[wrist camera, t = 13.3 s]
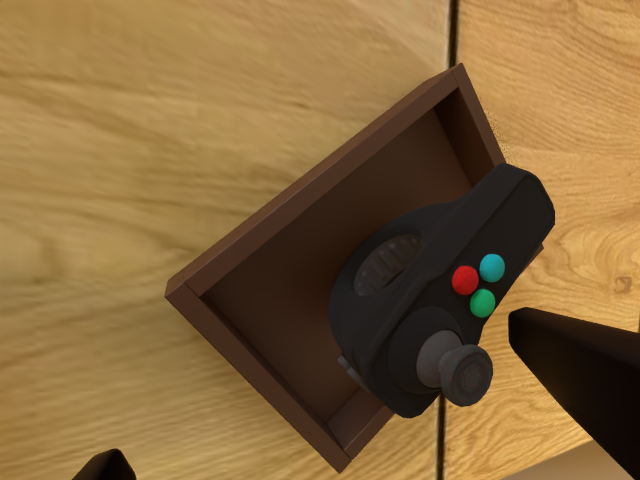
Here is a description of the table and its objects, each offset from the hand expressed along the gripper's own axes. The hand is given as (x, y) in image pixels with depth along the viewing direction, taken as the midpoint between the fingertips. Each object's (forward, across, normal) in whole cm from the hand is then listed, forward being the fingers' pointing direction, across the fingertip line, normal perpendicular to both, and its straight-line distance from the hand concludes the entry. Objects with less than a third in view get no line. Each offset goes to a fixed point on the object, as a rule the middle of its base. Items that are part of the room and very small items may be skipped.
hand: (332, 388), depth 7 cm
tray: (+13, -5, +4) cm, 15 cm away
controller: (+13, -5, +3) cm, 14 cm away
